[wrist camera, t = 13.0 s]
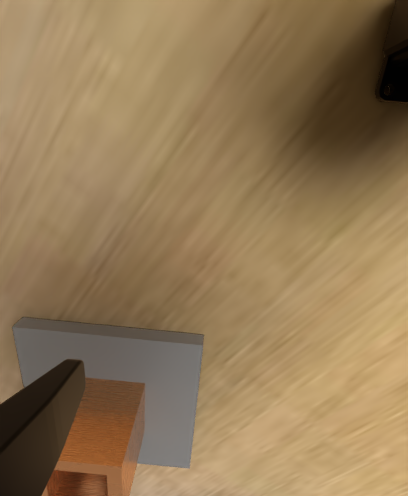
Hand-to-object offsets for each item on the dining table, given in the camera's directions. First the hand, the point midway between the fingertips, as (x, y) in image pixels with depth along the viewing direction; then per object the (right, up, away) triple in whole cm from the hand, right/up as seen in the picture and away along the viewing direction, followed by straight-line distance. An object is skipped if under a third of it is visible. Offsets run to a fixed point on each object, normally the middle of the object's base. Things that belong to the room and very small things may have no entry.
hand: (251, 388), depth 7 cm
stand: (-9, -9, +17) cm, 21 cm away
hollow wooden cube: (-9, -9, +16) cm, 20 cm away
